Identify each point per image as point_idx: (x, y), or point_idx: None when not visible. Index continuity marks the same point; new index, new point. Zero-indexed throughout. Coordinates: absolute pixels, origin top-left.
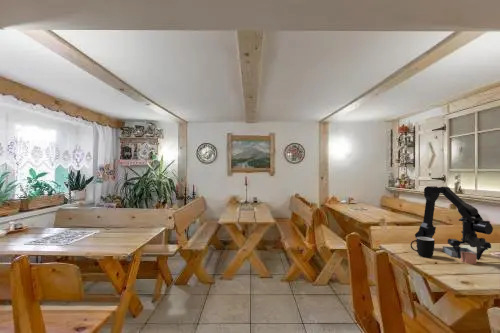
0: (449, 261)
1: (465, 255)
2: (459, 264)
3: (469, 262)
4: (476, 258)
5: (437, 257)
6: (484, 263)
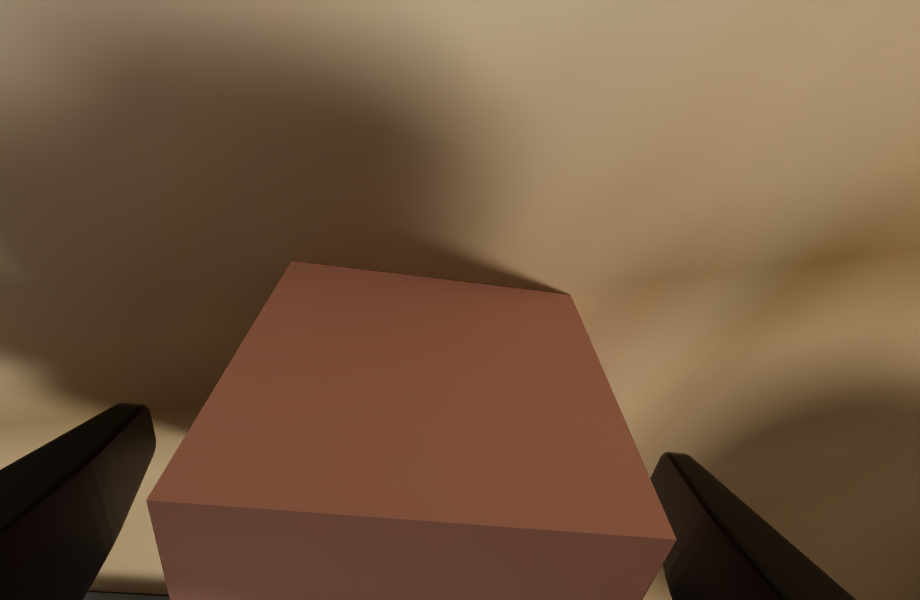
0: (912, 371)
1: (633, 487)
2: (903, 133)
3: (472, 298)
4: (98, 598)
5: (889, 569)
6: (22, 329)
